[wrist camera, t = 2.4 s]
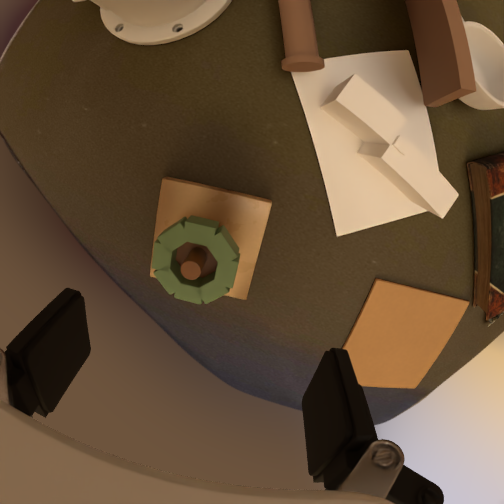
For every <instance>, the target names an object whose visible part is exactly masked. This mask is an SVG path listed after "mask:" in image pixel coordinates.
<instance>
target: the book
mask: <svg viewBox="0 0 504 504" xmlns="http://www.w3.org/2000/svg"><path fill="white" fill-rule="evenodd" d="M467 168H468V176H469V182H470V189H471V198H472V209H473V223H474V249H475V284H474V303H473V305H474V307H475V306H477V305H479V306H480V307H481V308H482V309H483V310H484V311H485V313H486V320H489V319H490V318H492V317H494V316H496V315H498V314H500V313H501V312H503V311H504V152H503V153H499V154H496V155H492V156H489V157H485V158H482V159H479V160H475V161H472V162H469V163H467Z"/></svg>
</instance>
